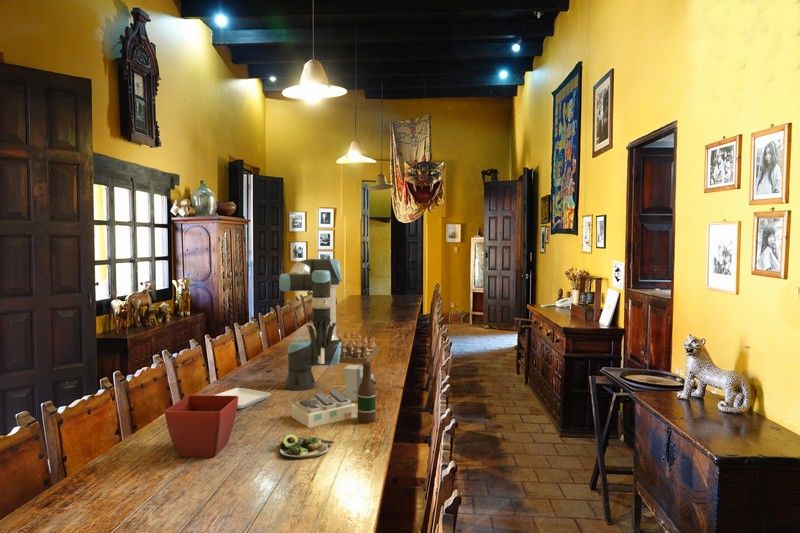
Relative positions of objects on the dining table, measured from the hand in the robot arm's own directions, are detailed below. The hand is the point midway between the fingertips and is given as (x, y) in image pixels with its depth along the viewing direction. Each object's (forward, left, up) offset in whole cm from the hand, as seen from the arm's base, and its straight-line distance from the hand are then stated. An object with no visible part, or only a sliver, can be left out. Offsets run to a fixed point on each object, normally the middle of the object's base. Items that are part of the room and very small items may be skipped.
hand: (321, 363), depth 220 cm
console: (+2, 0, -22) cm, 22 cm away
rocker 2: (+2, 0, -16) cm, 16 cm away
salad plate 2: (+28, -23, -23) cm, 43 cm away
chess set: (-96, +68, -23) cm, 120 cm away
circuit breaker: (-10, +26, -23) cm, 36 cm away
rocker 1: (+2, -7, -16) cm, 17 cm away
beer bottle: (+16, +12, -23) cm, 30 cm away
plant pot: (+8, -51, -23) cm, 56 cm away
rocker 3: (+2, +7, -16) cm, 17 cm away
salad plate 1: (-39, -21, -23) cm, 50 cm away
